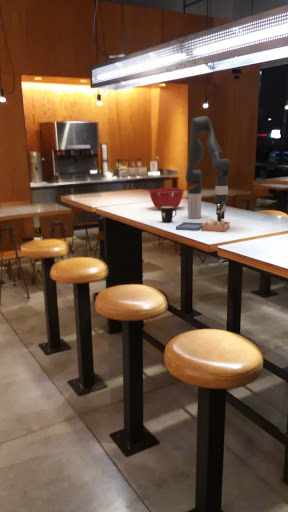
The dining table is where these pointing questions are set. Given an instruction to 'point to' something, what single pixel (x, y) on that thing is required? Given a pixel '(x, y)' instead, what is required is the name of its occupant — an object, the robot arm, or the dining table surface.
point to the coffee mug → (167, 214)
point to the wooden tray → (215, 227)
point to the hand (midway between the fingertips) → (220, 220)
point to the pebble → (221, 223)
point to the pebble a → (210, 222)
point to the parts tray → (189, 226)
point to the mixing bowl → (166, 197)
